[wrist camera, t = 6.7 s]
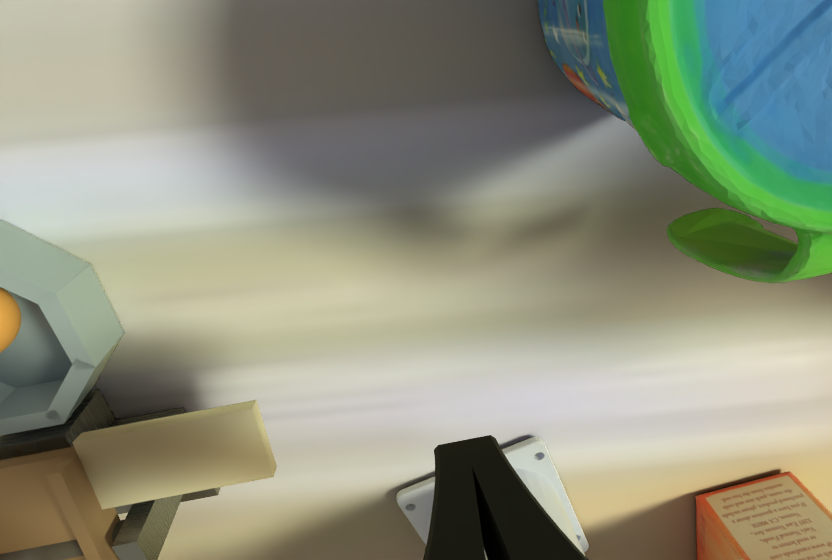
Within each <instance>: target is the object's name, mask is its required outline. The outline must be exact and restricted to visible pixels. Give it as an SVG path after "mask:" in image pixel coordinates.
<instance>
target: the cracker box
mask: <svg viewBox="0 0 832 560" xmlns="http://www.w3.org/2000/svg"><path fill="white" fill-rule="evenodd" d="M695 498H696V512H697V513H696V522H697V524H696V533H697V560H832V513H831V512H830V511H829V510H828V509H827V508H826V507H825V506H824V505H823V504H822V503H821V502H820V501H819V500H818V499H817V498H816V497H815V496H814V495H813V494H812V493H811V492H810V491H809V490H808V489H807V488H806V487H805V486H804V485H803V484H802V483H801V482H800V481H799V480H798V479H797V478H796V476H794V475H793V474H792V473H791V472H784V473H781V474H778V475H774V476H770V477H766V478H762V479H758V480H754V481H750V482H747V483H743V484H739V485H735V486H731V487H727V488H724V489H720V490H716V491H712V492H709V493H705V494H701V495H697V496H696V497H695Z"/></svg>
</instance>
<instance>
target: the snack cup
mask: <svg viewBox="0 0 832 560" xmlns="http://www.w3.org/2000/svg"><path fill="white" fill-rule="evenodd" d="M538 6H539V15H540V22H541V26H542V28H543V32H544V38H545V42H546V45H547V47H548V50H549V51H550V53H551V57H552V59H553V60H554V62H555V63H556V64H557V66H558V67H559V68H560V70H561V71H562V72H563V73H564V75H565V76H566V77H567V78H568V80H570V81H571V82H572V83H573V85H574V86H575V87H576V88H577V89H578V90H580V91H581V92H582V93H583V94H585V95H586V96H587V97H588V98H590V99H592V100H593V101H594V102H596V103H597V104H599V105H600V106H602V107H603V108H605V109H606V110H608V111H609V112H611V113H612V114H614V115H615V116H617V117H618V118H620V119H621V120H624V121H626V122H627V123H628V124H629V125H631V126H632V127H633V128H634V129H636V130H637V132H638V133H639V135H640V137H641V139H642V140H643V142H644V144H645V145H646V147H647V148H648V150H649V151H650V152H651V154H652V155H653V156H654V158H655V159H656V160H657V161H659V162H660V163H661V164H662V165H664V166H667V167H671V169H673V170H674V171H676V172H677V173H679V174H680V175H681V176H683V177H684V178H685V179H686V180H687V181H689V182H690V183H692V184H693V185H695V186H697V187H698V188H700V189H702V190H703V191H705V192H707V193H708V194H710V195H712V196H713V197H715V198H717V199H718V200H720V201H722V202H723V203H725V204H727V205H730V206H732V207H734V208H737V209H739V210H741V211H743V212H746V213H748V214H751V215H753V216H756V217H759V218H762V219H764V220H767V221H770V222H773V223H776V224H780V225H784V226H788V227H792V228H793V229H794V230H795V231H796V234H797V236H798V242H799V244H797V243H795V242H793V241H790V240H788V239H786V238H783V237H781V236H779V235H777V234H774V233H772V232H770V231H767V230H765V229H764V228H763V226H762V225H760V224H759V223H758V222H757V221H755V220H753V219H752V218H750V217H748V216H747V215H744V214H741V213H738V212H735V211H731V210H726V209H721V208H711V209H705V210H700V211H697V212H693V213H690V214H687V215H684V216H682V217H680V218H678V219H676V220H674V221H673V222H672V223H671V224H670V225H669V226H668V228H667V235H668V237H669V239H670V241H671V242H672V243H673V244H674V246H675V247H676V248H677V249H679V250H680V251H682V252H683V253H684V254H686V255H687V256H689V257H692V258H694V259H696V260H697V261H699V262H701V263H704V264H705V265H707V266H709V267H712V268H715V269H717V270H719V271H722V272H725V273H728V274H731V275H734V276H737V277H740V278H744V279H748V280H752V281H758V282H767V283H781V282H787V281H792V280H799V279H807V278H812V277H815V276H819V275H824V274H828V273H832V0H538Z"/></svg>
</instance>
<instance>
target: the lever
mask: <svg viewBox="0 0 832 560" xmlns="http://www.w3.org/2000/svg"><path fill="white" fill-rule="evenodd" d="M72 443H73V445H74V447H68V448H63V449H58V450H52V451H47V452H42V453H36V454H31V455H26V456H21V457H15V458H10V459H5V460H0V560H120V559H119V557H118V556H117V554H116V553H115V551H114V550H113V548H112V545H113V543H114V541H115V539H116V537H117V535H118V533H119V531H120V529H121V527H122V525H123V523H124V521H125V520H121V521H120V519H119V516H118V514H117V512H116V509H115V507H118V506H123V505H129V504H134V503H139V502H144V501H150V500H155V499H160V498H165V497H171V496H176V495H181V494H186V493H191V492H197V491H202V490H207V489H212V488H218V487H223V486H228V485H233V484H238V483H244V482H249V481H254V480H259V479H265V478H270V477H274V473H275V470H276V467H277V466H276V463H275V460H274V456H273V453H272V450H271V447H270V443H269V440H268V437H267V433H266V430H265V427H264V424H263V420H262V417H261V414H260V410H259V407H258V404H257V401H256V400H253V401H248V402H243V403H237V404H232V405H227V406H221V407H216V408H211V409H205V410H200V411H195V412H189V413H184V414H179V415H173V416H168V417H163V418H157V419H152V420H147V421H141V422H136V423H131V424H125V425H120V426H115V427H109V428H104V429H99V430H93V431H88V432H83V433H81V434H80V435H79V436H78V437H77V438H76V439H75V440H74V441H73V442H72Z"/></svg>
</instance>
